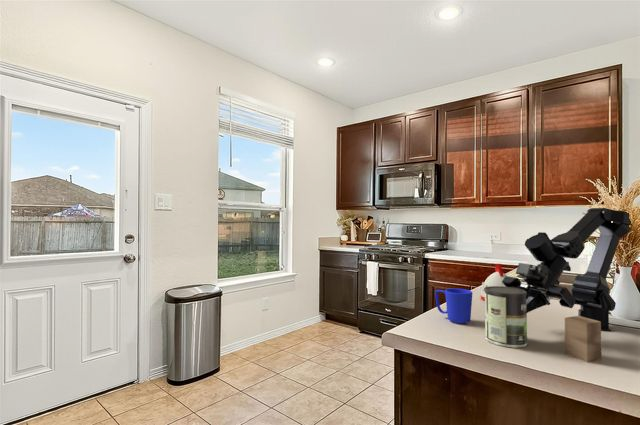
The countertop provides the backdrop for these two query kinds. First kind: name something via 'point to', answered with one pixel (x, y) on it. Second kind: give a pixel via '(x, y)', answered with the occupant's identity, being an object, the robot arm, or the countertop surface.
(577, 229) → the robot arm
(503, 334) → the coffee can
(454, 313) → the mug
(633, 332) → the countertop surface
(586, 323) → the walnut block
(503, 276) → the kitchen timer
